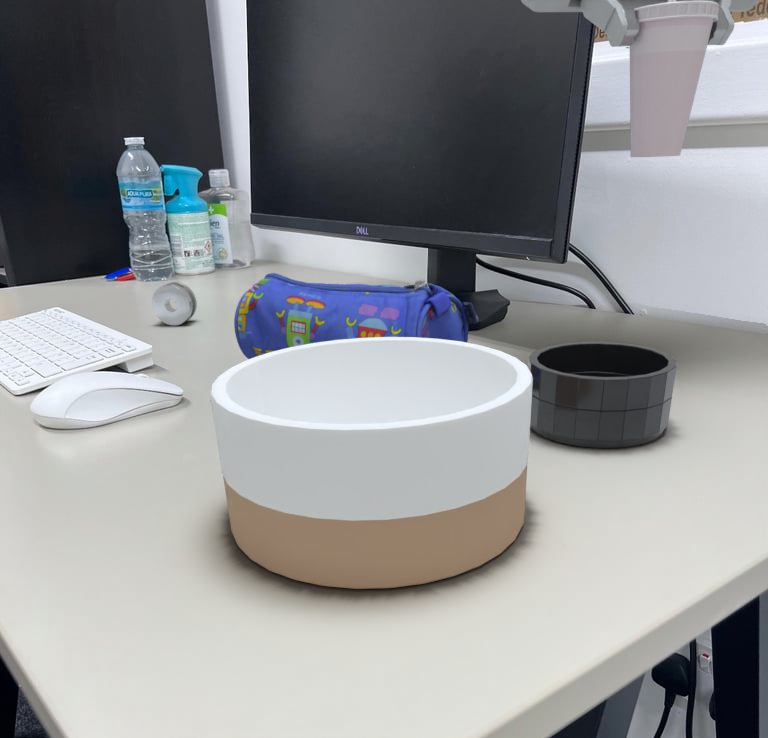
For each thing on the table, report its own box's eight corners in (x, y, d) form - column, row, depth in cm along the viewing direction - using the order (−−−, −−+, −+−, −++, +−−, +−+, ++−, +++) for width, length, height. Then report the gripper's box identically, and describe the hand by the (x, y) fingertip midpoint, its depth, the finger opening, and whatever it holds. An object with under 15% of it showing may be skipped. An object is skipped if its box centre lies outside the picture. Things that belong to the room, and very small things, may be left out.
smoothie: (686, 153, 59) (715, -59, 53) (709, 155, 54) (745, -83, 47) (606, 157, 60) (625, -53, 54) (621, 158, 54) (644, -76, 48)
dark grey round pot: (620, 397, 60) (627, 336, 57) (696, 439, 51) (708, 369, 49) (505, 411, 58) (507, 349, 55) (563, 457, 49) (569, 386, 47)
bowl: (449, 626, 32) (450, 452, 28) (166, 545, 40) (137, 400, 36) (563, 481, 45) (574, 349, 42) (334, 441, 53) (325, 327, 49)
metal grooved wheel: (155, 325, 92) (148, 285, 90) (165, 320, 95) (158, 281, 93) (192, 325, 92) (186, 284, 89) (201, 320, 94) (195, 280, 92)
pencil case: (479, 383, 65) (482, 272, 60) (431, 411, 58) (430, 289, 54) (291, 356, 76) (281, 261, 71) (233, 377, 69) (219, 274, 65)
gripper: (508, -145, 52) (559, -6, 48) (755, -135, 56) (822, -5, 52) (484, -52, 58) (528, 78, 54) (709, -49, 62) (766, 73, 58)
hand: (674, 37), depth 53 cm, fingers closed on smoothie, 6 cm apart
